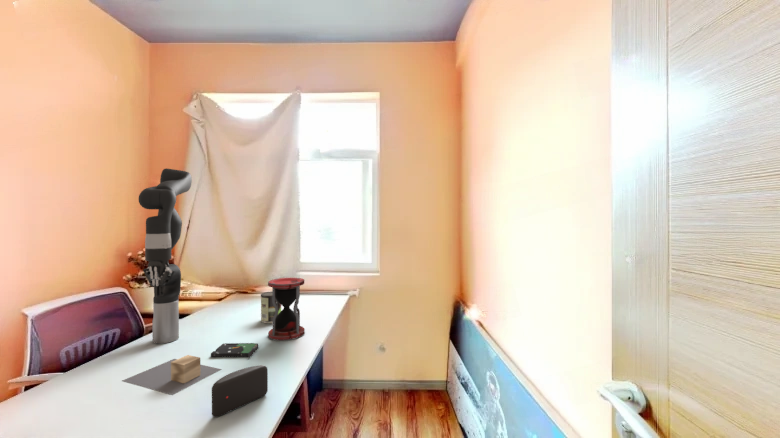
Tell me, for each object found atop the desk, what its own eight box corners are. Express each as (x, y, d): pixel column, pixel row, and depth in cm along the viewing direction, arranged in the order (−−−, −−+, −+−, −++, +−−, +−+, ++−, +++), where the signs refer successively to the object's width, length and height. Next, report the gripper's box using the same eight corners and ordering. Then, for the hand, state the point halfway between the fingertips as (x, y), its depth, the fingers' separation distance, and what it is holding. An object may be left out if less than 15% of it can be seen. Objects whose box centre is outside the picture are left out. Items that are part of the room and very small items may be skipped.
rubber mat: (121, 382, 109) (121, 380, 109) (174, 360, 126) (174, 358, 126) (172, 396, 101) (172, 395, 101) (221, 370, 117) (221, 369, 117)
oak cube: (183, 365, 107) (183, 383, 107) (200, 357, 113) (200, 375, 113) (170, 362, 109) (171, 380, 109) (187, 354, 115) (187, 372, 115)
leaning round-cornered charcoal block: (261, 390, 105) (260, 360, 105) (268, 395, 102) (268, 364, 102) (206, 414, 92) (206, 380, 92) (213, 420, 89) (213, 386, 89)
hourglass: (284, 343, 143) (284, 285, 142) (260, 336, 151) (260, 281, 151) (312, 332, 156) (311, 279, 156) (288, 326, 165) (288, 276, 164)
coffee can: (284, 317, 179) (284, 291, 179) (277, 323, 169) (277, 295, 169) (265, 317, 179) (265, 291, 179) (257, 323, 169) (257, 295, 169)
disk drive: (210, 361, 127) (249, 359, 128) (210, 353, 127) (249, 352, 128) (222, 349, 137) (259, 348, 138) (222, 343, 137) (258, 342, 138)
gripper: (134, 246, 114) (134, 297, 114) (160, 248, 109) (161, 300, 110) (156, 245, 121) (156, 292, 121) (182, 246, 116) (182, 295, 117)
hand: (158, 296), depth 116 cm, fingers closed
